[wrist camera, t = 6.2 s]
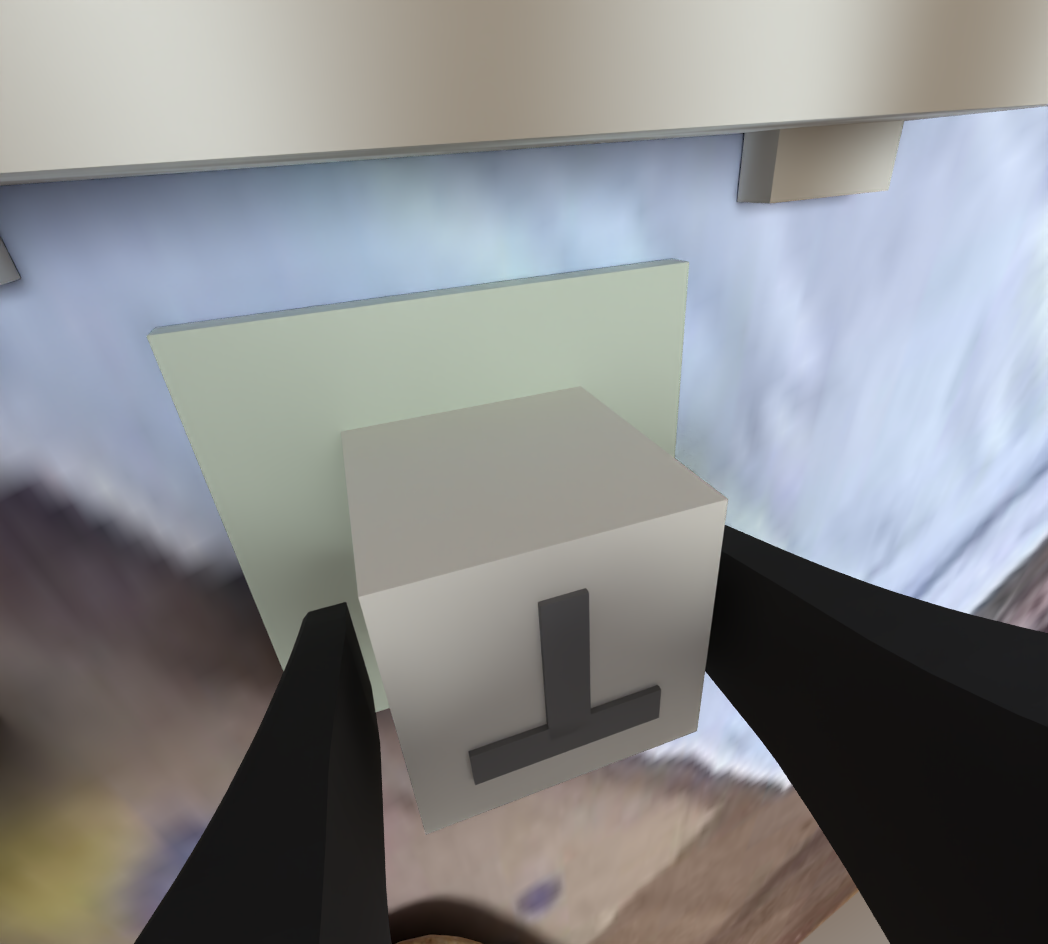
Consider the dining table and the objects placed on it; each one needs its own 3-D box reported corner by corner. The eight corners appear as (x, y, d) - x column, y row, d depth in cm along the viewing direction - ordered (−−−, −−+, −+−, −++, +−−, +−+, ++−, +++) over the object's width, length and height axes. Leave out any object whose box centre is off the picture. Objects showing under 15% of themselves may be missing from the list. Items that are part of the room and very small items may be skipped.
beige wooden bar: (915, -45, 11) (1194, -150, 7) (867, 187, 13) (1068, 190, 9) (-583, -85, 6) (-1918, -484, 2) (-277, 311, 8) (-748, 413, 4)
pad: (673, 258, 12) (688, 262, 11) (651, 607, 17) (662, 620, 16) (155, 328, 9) (146, 335, 9) (309, 713, 14) (308, 733, 14)
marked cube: (580, 386, 12) (733, 502, 7) (583, 568, 14) (700, 735, 10) (340, 431, 10) (358, 603, 6) (389, 623, 13) (426, 840, 9)
